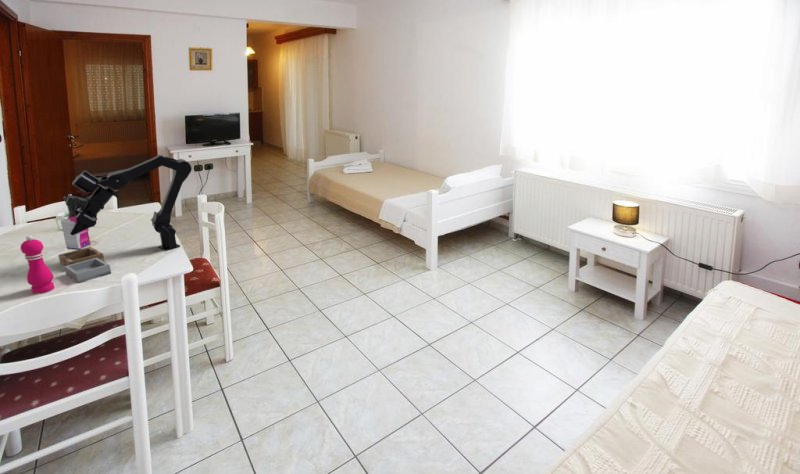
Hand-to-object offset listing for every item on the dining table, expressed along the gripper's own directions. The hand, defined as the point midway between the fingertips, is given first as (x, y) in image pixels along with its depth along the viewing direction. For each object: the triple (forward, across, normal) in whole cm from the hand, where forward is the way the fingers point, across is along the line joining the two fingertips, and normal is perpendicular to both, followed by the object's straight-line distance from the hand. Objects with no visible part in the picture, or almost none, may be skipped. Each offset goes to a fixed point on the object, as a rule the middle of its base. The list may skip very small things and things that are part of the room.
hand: (71, 231), depth 177 cm
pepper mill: (+17, +21, +2) cm, 27 cm away
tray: (+7, +14, +11) cm, 20 cm away
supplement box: (+4, 0, +6) cm, 7 cm away
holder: (+8, 0, +10) cm, 13 cm away
